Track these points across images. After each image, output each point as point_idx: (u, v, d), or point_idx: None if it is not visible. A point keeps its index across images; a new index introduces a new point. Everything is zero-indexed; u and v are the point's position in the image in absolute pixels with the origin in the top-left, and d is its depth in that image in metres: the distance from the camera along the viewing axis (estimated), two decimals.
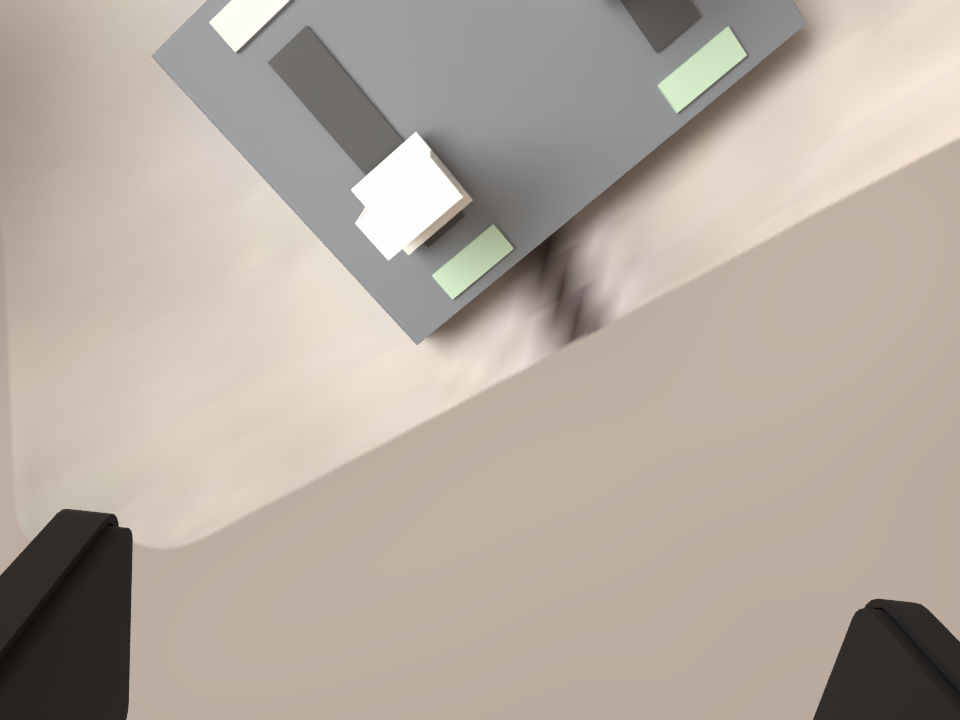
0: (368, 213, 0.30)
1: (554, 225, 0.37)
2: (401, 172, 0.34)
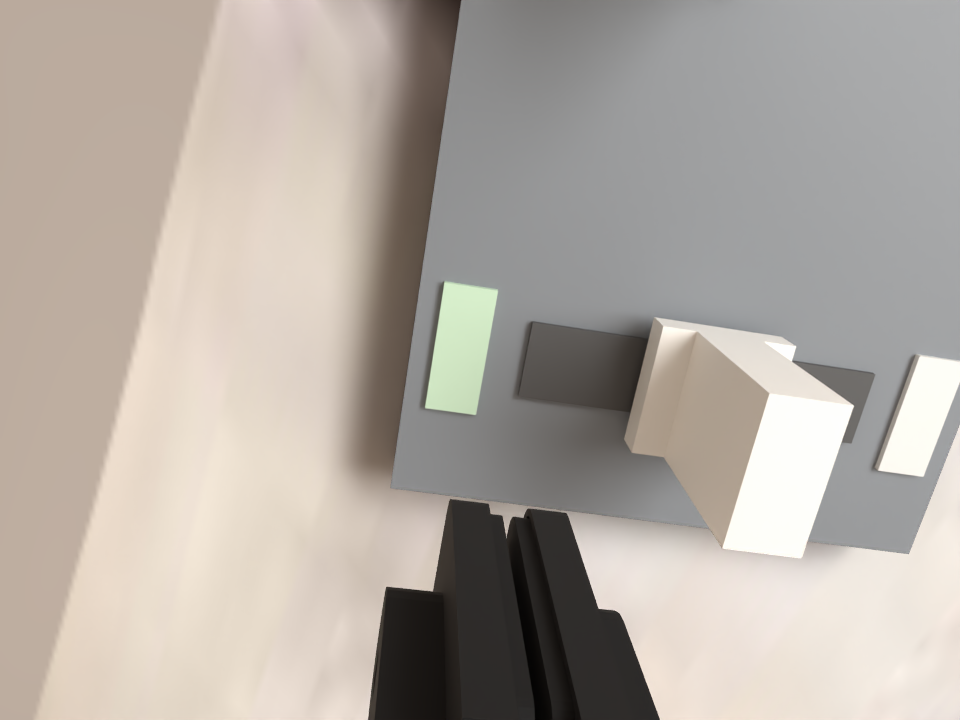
0: None
1: None
2: None
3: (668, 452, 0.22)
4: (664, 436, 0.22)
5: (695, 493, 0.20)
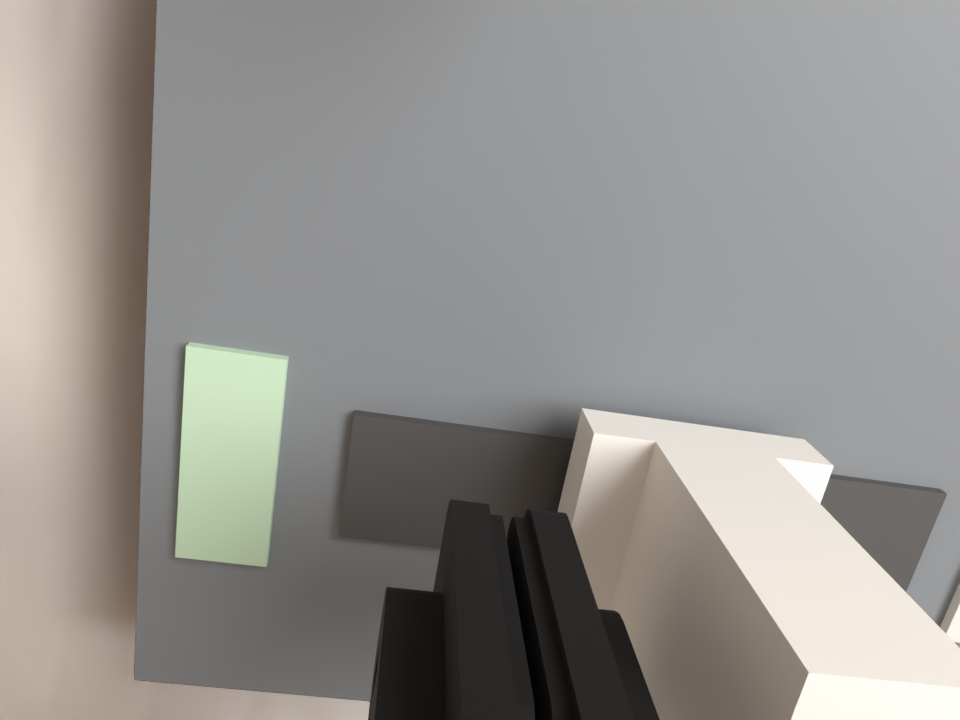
0: None
1: None
2: None
3: None
4: None
5: None
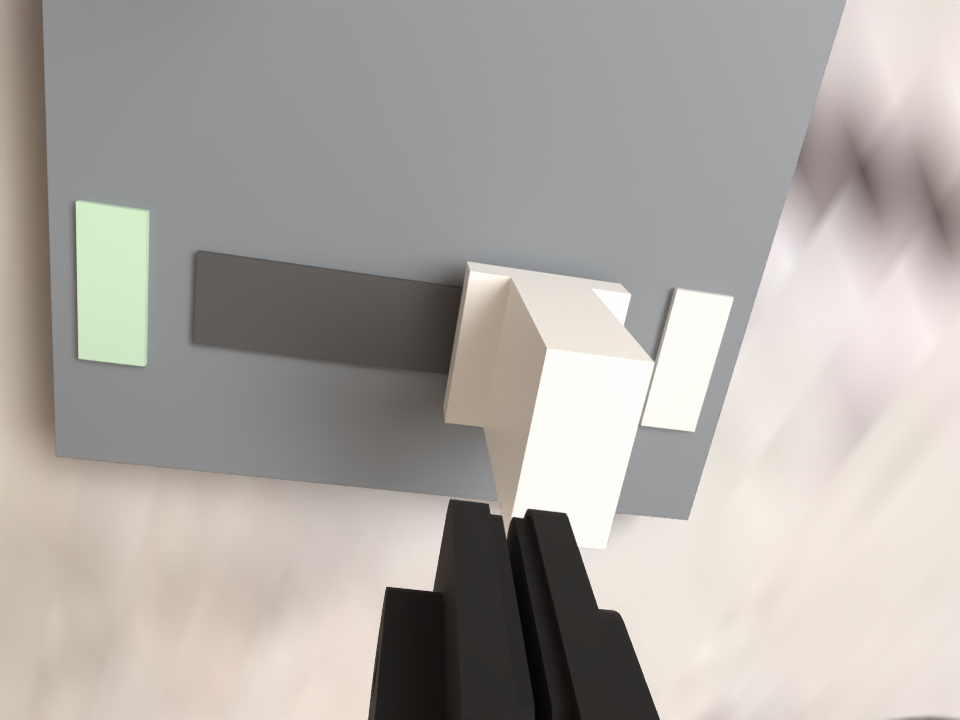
0: None
1: None
2: None
3: (486, 421, 0.19)
4: (482, 402, 0.19)
5: (496, 471, 0.16)
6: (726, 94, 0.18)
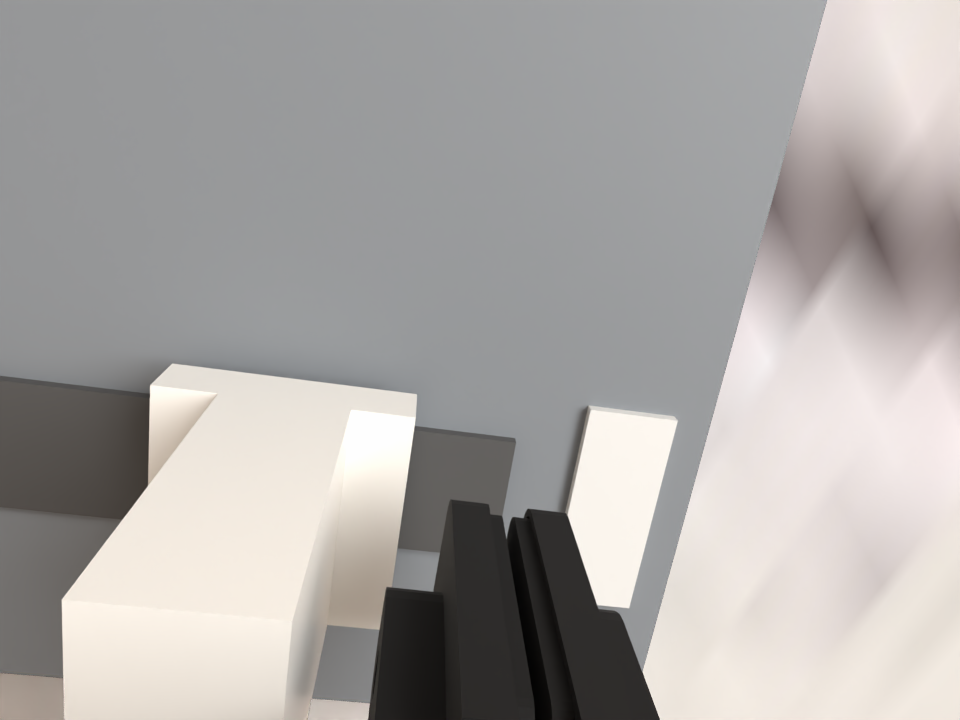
0: None
1: None
2: None
3: None
4: None
5: None
6: (651, 120, 0.12)
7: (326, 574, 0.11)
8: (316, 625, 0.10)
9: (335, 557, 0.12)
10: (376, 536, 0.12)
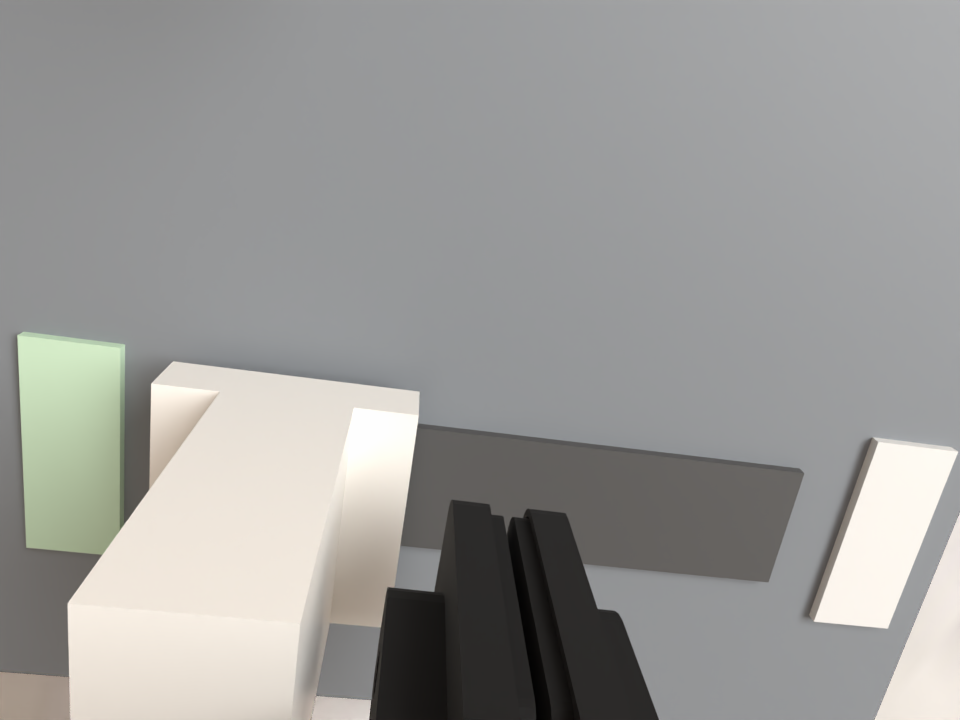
0: None
1: None
2: None
3: None
4: None
5: None
6: None
7: (330, 573, 0.11)
8: (320, 624, 0.10)
9: (338, 555, 0.12)
10: (379, 535, 0.12)
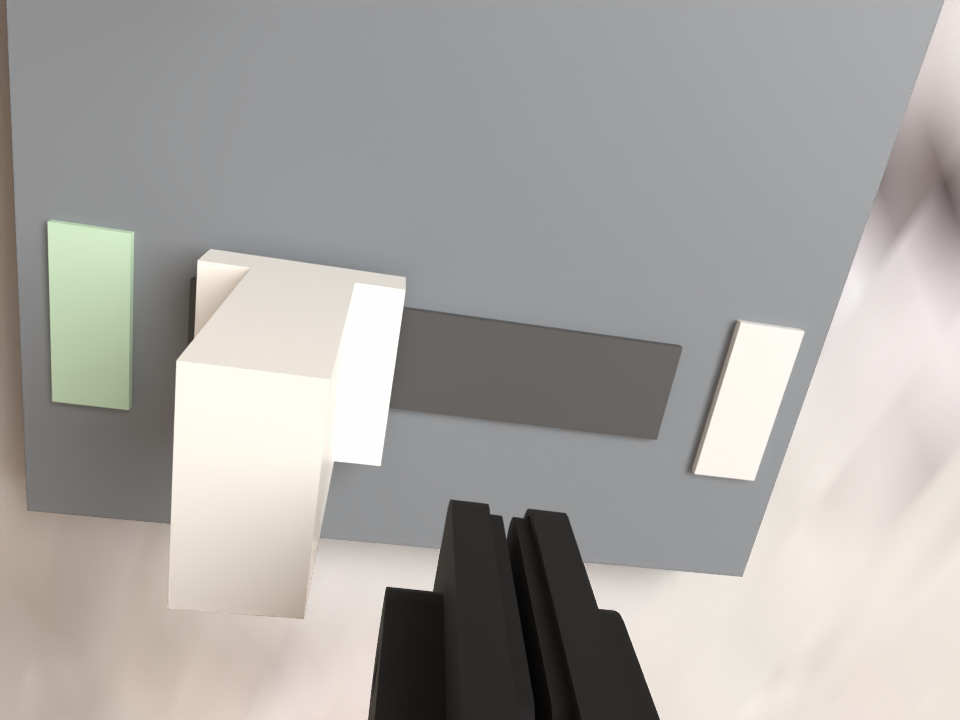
0: None
1: None
2: None
3: None
4: None
5: None
6: (805, 99, 0.16)
7: (338, 404, 0.14)
8: (332, 435, 0.13)
9: (341, 404, 0.16)
10: (373, 387, 0.16)
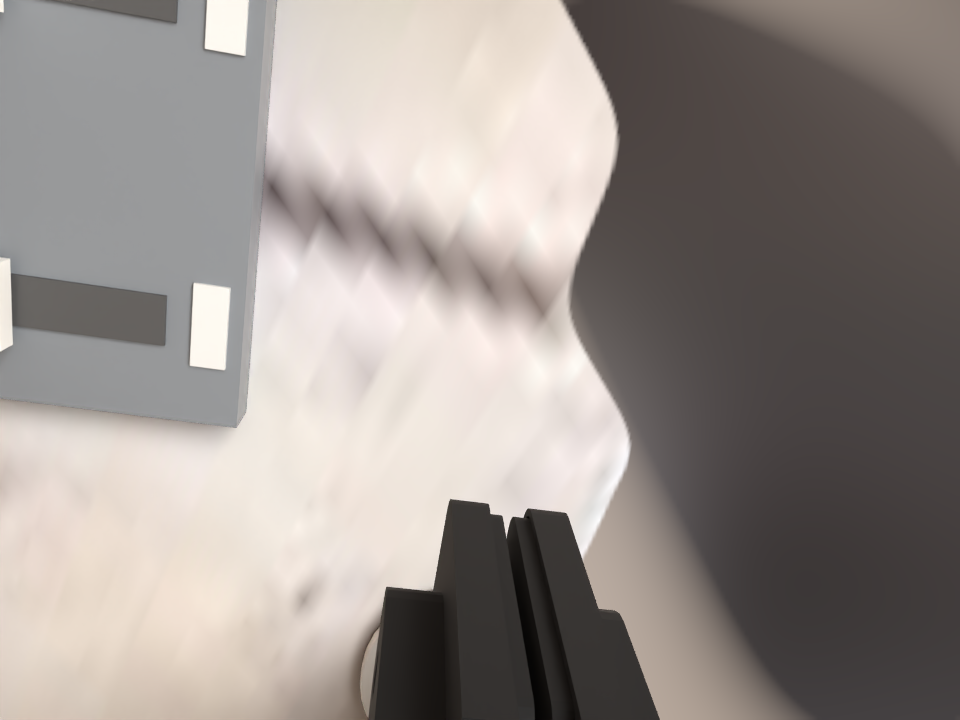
0: None
1: None
2: None
3: None
4: None
5: None
6: (200, 173, 0.33)
7: None
8: None
9: None
10: None
